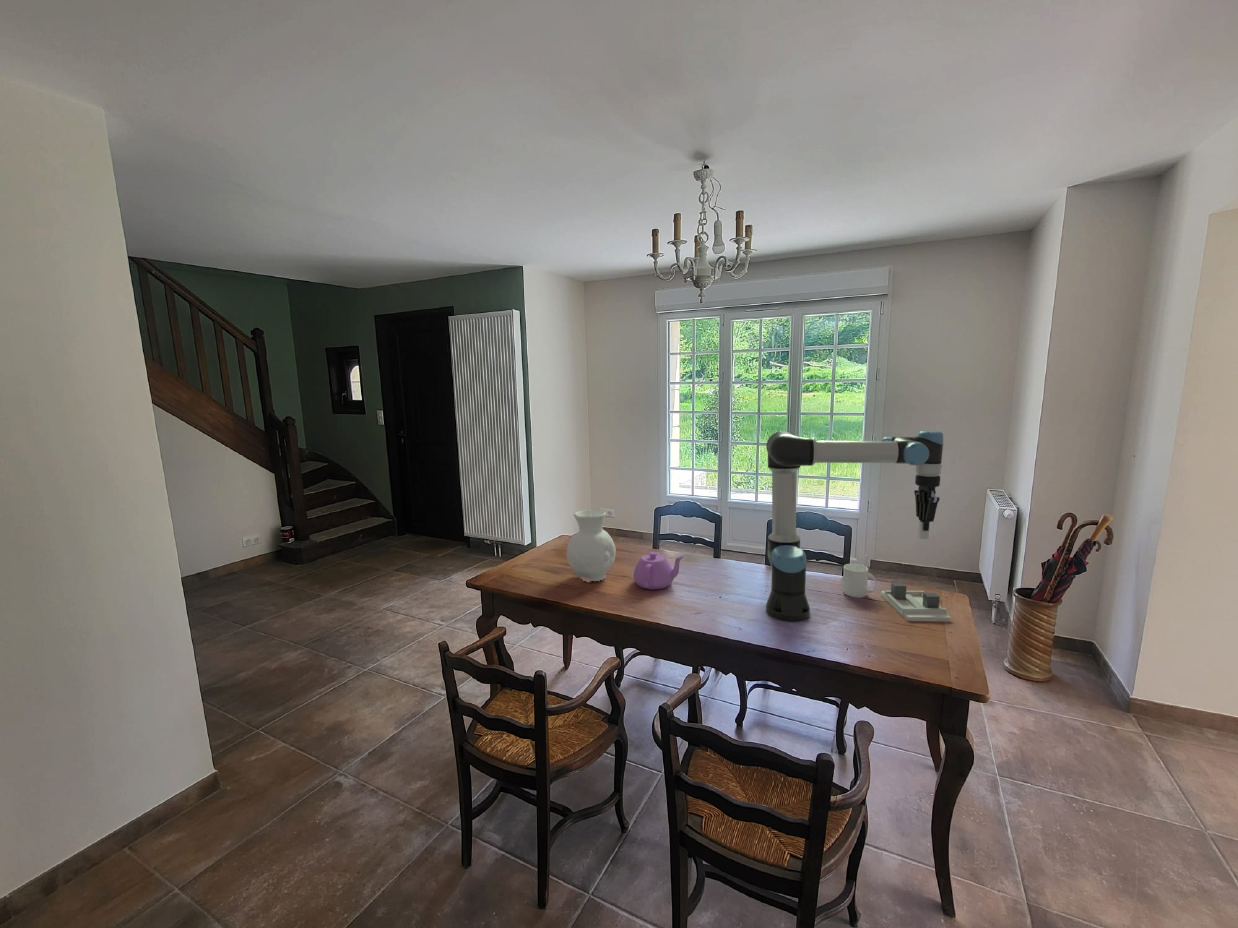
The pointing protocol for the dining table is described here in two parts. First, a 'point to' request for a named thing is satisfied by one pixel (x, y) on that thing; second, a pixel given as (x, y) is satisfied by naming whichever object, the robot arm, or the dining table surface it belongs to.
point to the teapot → (655, 571)
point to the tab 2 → (930, 600)
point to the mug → (856, 580)
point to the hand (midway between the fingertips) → (923, 538)
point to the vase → (591, 546)
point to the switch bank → (916, 607)
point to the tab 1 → (898, 590)
